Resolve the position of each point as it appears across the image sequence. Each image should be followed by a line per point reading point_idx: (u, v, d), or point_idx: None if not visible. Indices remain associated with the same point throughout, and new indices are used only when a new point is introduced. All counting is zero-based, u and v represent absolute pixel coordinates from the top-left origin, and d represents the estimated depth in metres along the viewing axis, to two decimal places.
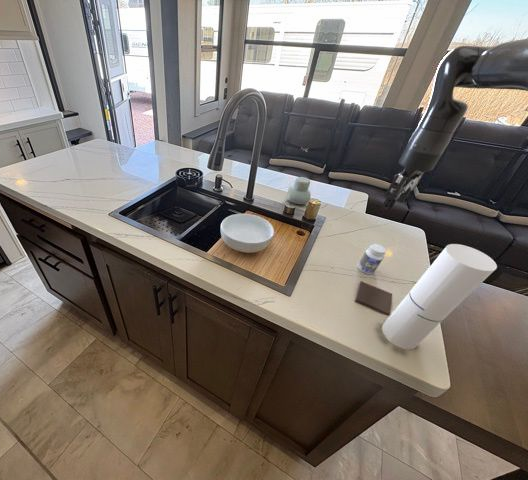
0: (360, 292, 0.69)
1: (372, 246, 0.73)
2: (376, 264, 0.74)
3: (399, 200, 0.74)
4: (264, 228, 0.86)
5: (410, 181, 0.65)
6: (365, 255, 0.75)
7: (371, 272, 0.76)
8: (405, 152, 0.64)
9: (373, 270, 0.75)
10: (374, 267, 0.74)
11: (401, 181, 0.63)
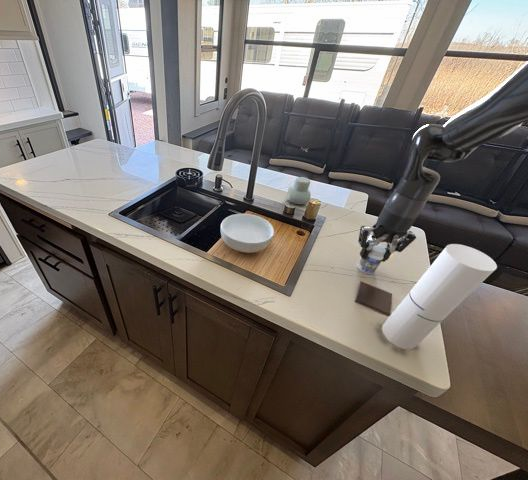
0: (360, 292, 0.69)
1: None
2: (376, 264, 0.74)
3: None
4: (264, 228, 0.86)
5: (380, 236, 0.69)
6: None
7: (371, 272, 0.76)
8: None
9: (373, 270, 0.75)
10: (374, 267, 0.74)
11: (362, 233, 0.70)
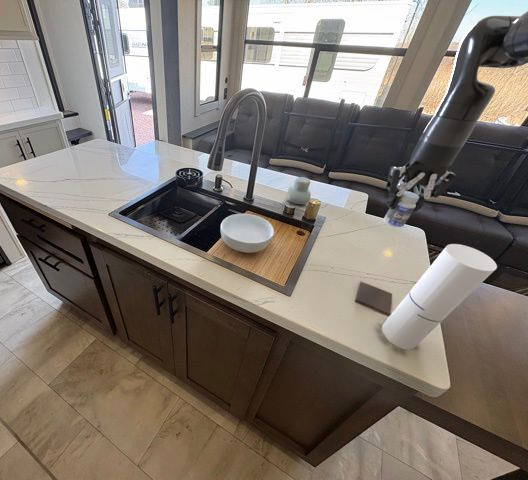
0: (360, 292, 0.69)
1: (403, 193, 0.63)
2: (407, 214, 0.63)
3: None
4: (264, 228, 0.86)
5: (414, 177, 0.58)
6: None
7: (401, 225, 0.65)
8: None
9: (403, 222, 0.65)
10: (404, 218, 0.64)
11: (392, 174, 0.59)
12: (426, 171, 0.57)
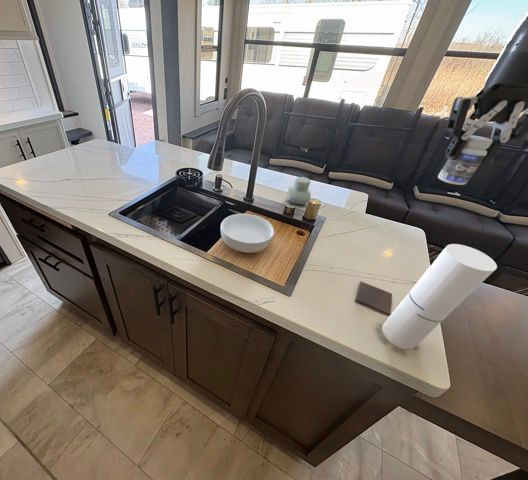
0: (360, 292, 0.69)
1: None
2: (475, 164, 0.47)
3: None
4: (264, 228, 0.86)
5: (490, 108, 0.43)
6: None
7: (464, 181, 0.49)
8: None
9: (467, 177, 0.49)
10: (470, 171, 0.48)
11: (459, 106, 0.44)
12: (508, 99, 0.42)
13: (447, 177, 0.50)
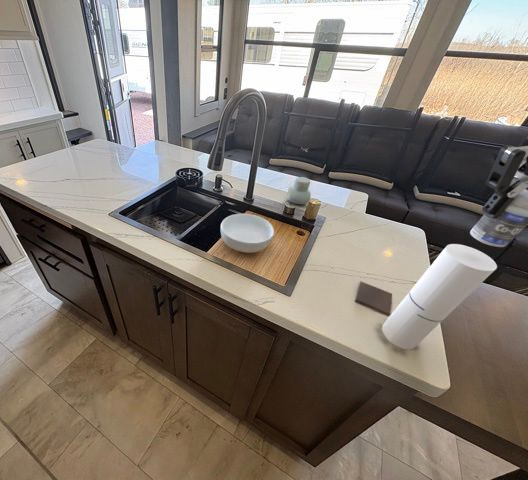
0: (360, 292, 0.69)
1: None
2: (521, 226, 0.38)
3: None
4: (264, 228, 0.86)
5: None
6: None
7: (505, 243, 0.40)
8: None
9: (510, 239, 0.39)
10: (515, 233, 0.39)
11: (508, 159, 0.34)
12: None
13: (484, 237, 0.41)
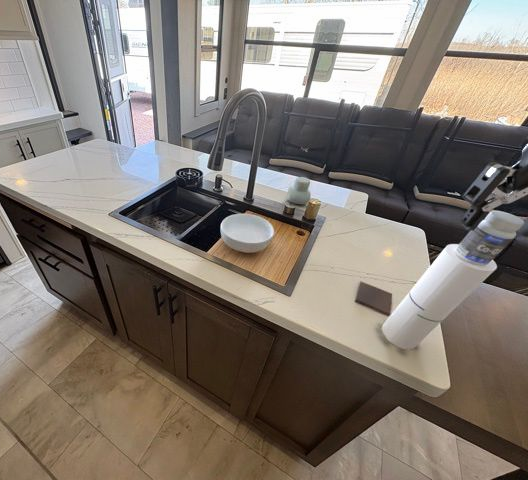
0: (360, 292, 0.69)
1: (495, 214, 0.40)
2: (501, 247, 0.40)
3: (522, 231, 0.41)
4: (264, 228, 0.86)
5: None
6: (477, 231, 0.42)
7: (487, 262, 0.42)
8: None
9: (491, 258, 0.42)
10: (495, 253, 0.41)
11: (493, 174, 0.36)
12: None
13: (467, 256, 0.43)
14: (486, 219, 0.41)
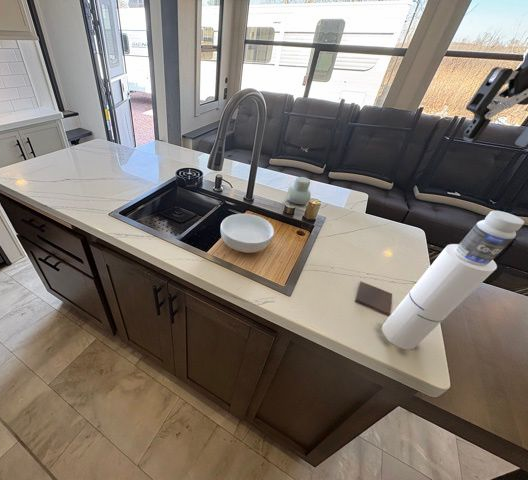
0: (360, 292, 0.69)
1: (495, 214, 0.40)
2: (501, 247, 0.40)
3: (521, 143, 0.43)
4: (264, 228, 0.86)
5: None
6: (477, 231, 0.42)
7: (487, 262, 0.42)
8: None
9: (491, 258, 0.42)
10: (495, 253, 0.41)
11: (496, 77, 0.37)
12: None
13: (467, 256, 0.43)
14: (486, 219, 0.41)
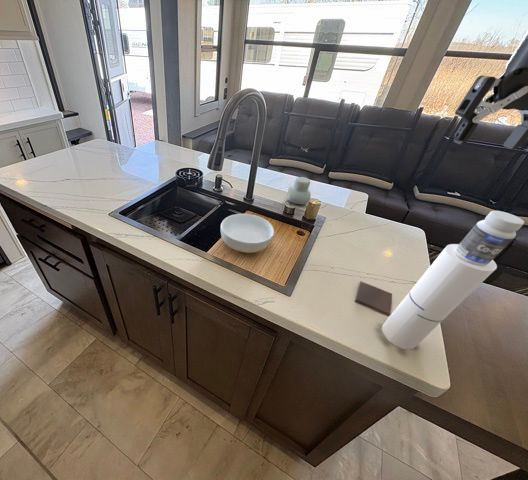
0: (360, 292, 0.69)
1: (495, 214, 0.40)
2: (501, 247, 0.40)
3: (508, 145, 0.46)
4: (264, 228, 0.86)
5: (511, 92, 0.40)
6: (477, 231, 0.42)
7: (487, 262, 0.42)
8: None
9: (491, 258, 0.42)
10: (495, 253, 0.41)
11: (481, 84, 0.41)
12: None
13: (467, 256, 0.43)
14: (486, 219, 0.41)
